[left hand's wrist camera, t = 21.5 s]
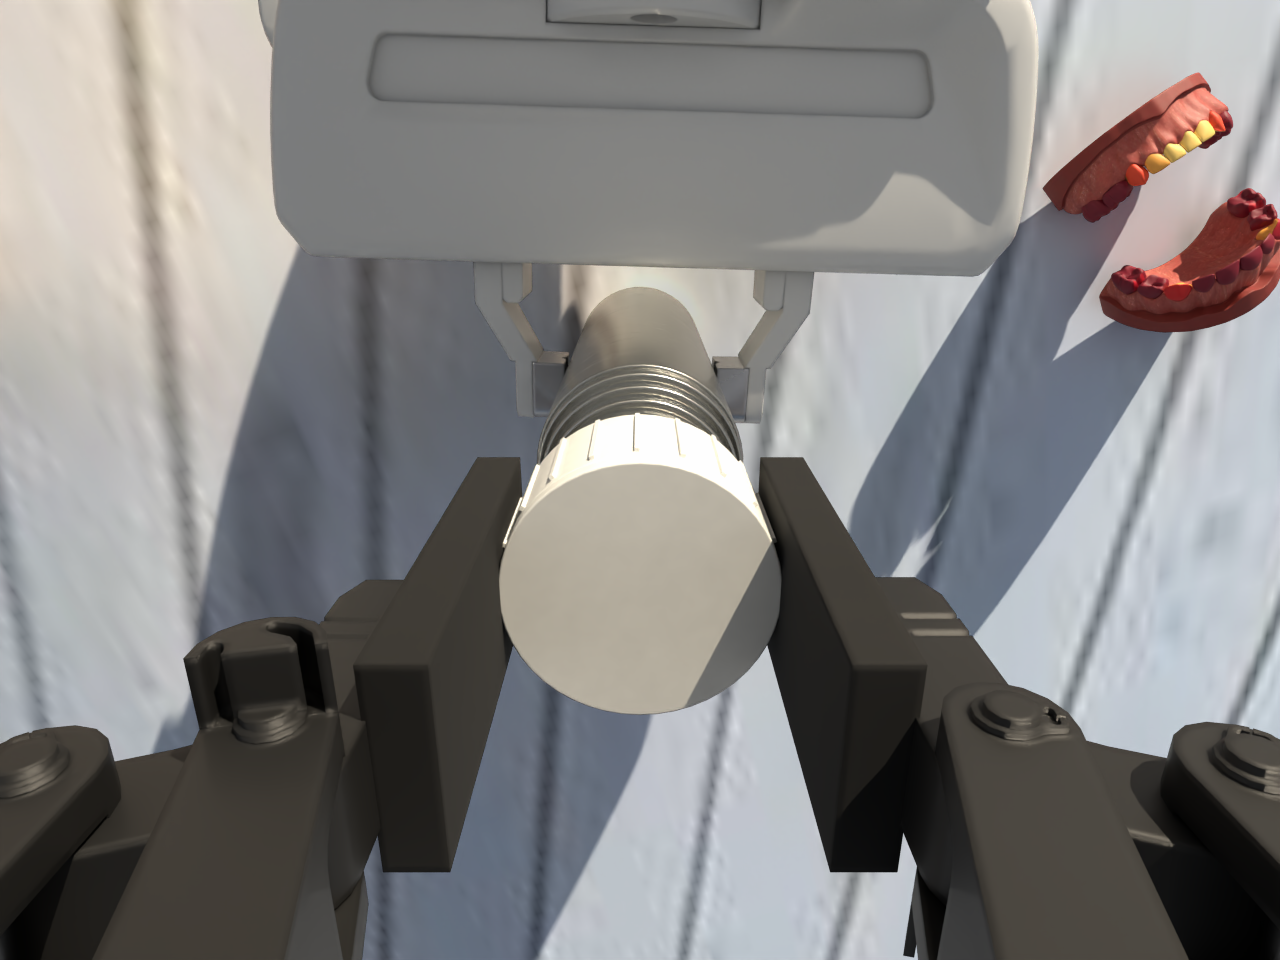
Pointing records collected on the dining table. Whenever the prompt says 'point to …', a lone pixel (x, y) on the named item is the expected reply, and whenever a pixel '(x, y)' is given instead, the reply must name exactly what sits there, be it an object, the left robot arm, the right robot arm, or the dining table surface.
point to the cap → (640, 567)
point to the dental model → (1220, 255)
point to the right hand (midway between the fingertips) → (640, 416)
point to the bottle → (640, 371)
